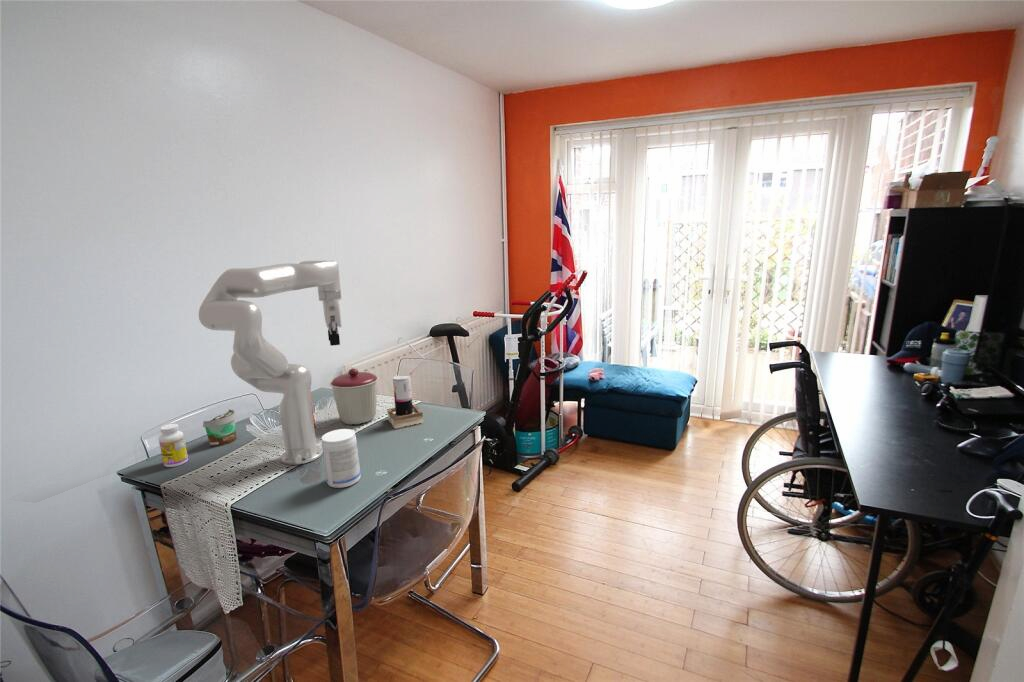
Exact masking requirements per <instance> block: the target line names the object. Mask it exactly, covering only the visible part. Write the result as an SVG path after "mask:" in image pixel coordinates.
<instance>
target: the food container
mask: <svg viewBox="0 0 1024 682" xmlns="http://www.w3.org/2000/svg"><path fill="white" fill-rule="evenodd" d="M237 418H238V415H237V413H236V411H234V410H233V409H229V408H228V412H225V413H224V414H220V415H217V416H215V417H214V418H212V419H211V420H204V421H203V423H202V426H203V428H205V431H206V435H207V436H206V437H207V439H208V443H209V446H210V447H211V446H216V447H221V445H222V446H226V445H229V444H231V443H233V442H235V441H236V440H237V431H236V430H237V429H236V427H237V426H236V425H237V424H236V419H237ZM225 444H226V445H225Z"/></svg>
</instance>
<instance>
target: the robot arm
mask: <svg viewBox="0 0 1024 682" xmlns="http://www.w3.org/2000/svg"><path fill="white" fill-rule="evenodd" d="M316 287H317V291H318V292H317V293H318V301H320V302H322V308H323V315H324V320H325V322H324V323H325V324H326V329H327V335H328V336H327V337H328V341H329V344H330V346H339V345H340V344H341V340H340V333H339V328H341V327H342V319H341V317H342V316H341V310H340V308H341V307H340V303H339V301H340V300H342V293H341V282H340V270H339V263H338V262H337V261H336V260H304V261H300V262H299V263H278V264H273V265H266V266H258V267H250V268H248V267H247V268H245V267H244V268H228V269H226V270H225V271H224V272H223V273H222V274H221V275H220V276H219V277H218V278H217V280H216V281H215V282H214V284H213V285H212V287H211V288H210V290H209V291H208V293H207V295H206V296H205V297H204V299H203V301H202V303H201V304H200V307H199V310H198V319H199V322H200V324H201V325H202V326H203V327H204V328H206V329H209V330H212V331H227V332H234V335H233V345H232V350H233V354H232V355H231V359H230V366H231V369H232V372H233V373H234V374H235V375H236V376H237V377H238V378H240V379H241V380H242V381H244V382H246V383H247V384H249V385H250V386H251V387H254V389H257V390H258V391H261V392H264V393H270V394H271V393H273V394H283V397H282V399H281V401H280V404H279V417H280V425H281V429H282V430H281V431H282V438H283V439H282V440H283V444H284V451H285V452H283V453H282V454H281V455H280V456H281V457H280V460H281V463H283V464H285V465H290V466H291V465H292V466H293V465H294V466H297V465H302V464H308V463H311V462H314V461H315V460H317V459H318V458H320V457H321V456H323V451H322V446H319V445H317V439H316V431H315V422H314V415H313V408H312V399H311V398H312V397H311V396H312V395H311V390H312V373H311V370H309V368H307V367H306V366H305V365H302V364H297V363H289V361H288V359H287V357H286V356H285V355H284V354H283V352H282V351H280V350H279V349H278V348H276V347H275V346H273V344H272V343H270V342H269V341H267V340H266V338H264V336H263V331H262V324H263V323H262V321H263V315H262V312H261V309H260V307H258V305H257V304H255V303H254V302H251V301H249V300H243V299H242V300H241V299H240V300H239V299H238V298H245V299H247V298H250V299H251V298H252V299H253V298H257V299H258V298H264V297H268V296H272V295H277V294H281V293H286V292H290V291H299V290H305V289H308V288H309V289H310V288H316Z"/></svg>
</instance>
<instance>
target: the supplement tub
mask: <svg viewBox="0 0 1024 682" xmlns="http://www.w3.org/2000/svg"><path fill="white" fill-rule="evenodd" d="M356 436H357V435H356V432H355V430H353V429H349V428H340V429H334V430H330V431H328V432H326V433H325V434H322V436H321V438H320V439H321V448H322V456H323V463H324V464H323V465H324V470H325V479H326V483H327V485H328V486H329V487H331V488H336V489H341V488H342V489H343V488H347V487H348V488H349V487H351V486H353V485H354V484H356V483H357V482H358V481H359V480H360V479H361V476H362V475H361V467H360V466H361V465H360V459H359V450H358V444H357V443H358V442H357V437H356Z"/></svg>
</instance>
